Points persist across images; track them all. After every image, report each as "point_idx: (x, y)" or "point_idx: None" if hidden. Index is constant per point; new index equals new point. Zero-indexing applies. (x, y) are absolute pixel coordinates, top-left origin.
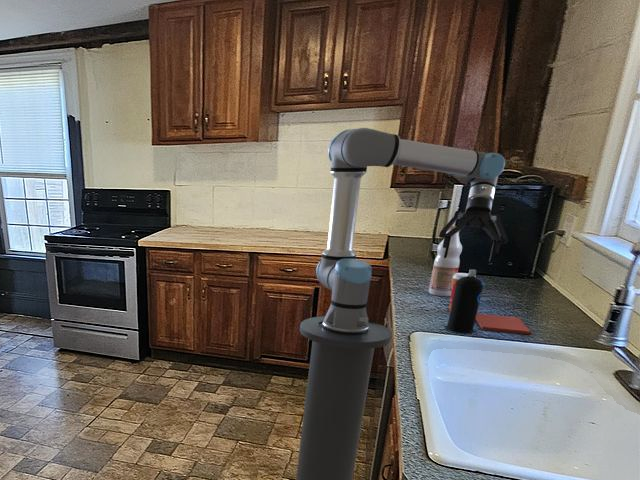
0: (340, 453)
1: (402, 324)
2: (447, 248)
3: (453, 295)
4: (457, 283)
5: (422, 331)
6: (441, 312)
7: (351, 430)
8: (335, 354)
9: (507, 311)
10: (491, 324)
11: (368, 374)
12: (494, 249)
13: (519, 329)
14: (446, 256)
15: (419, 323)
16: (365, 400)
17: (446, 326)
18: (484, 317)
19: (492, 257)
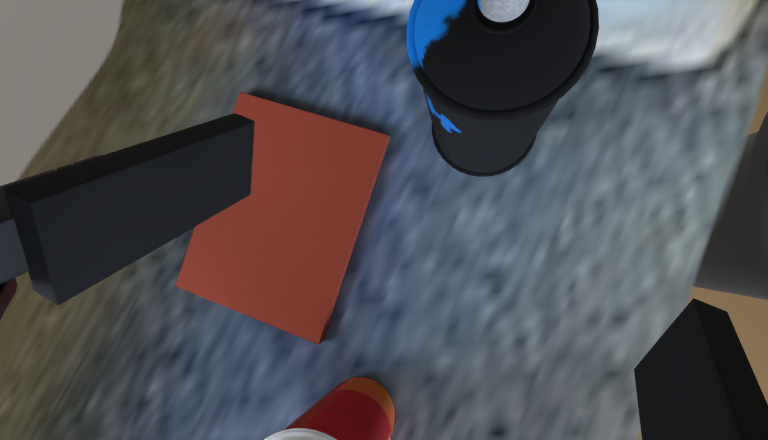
0: None
1: (727, 175)
2: (735, 372)
3: (383, 437)
4: (597, 15)
5: (668, 75)
6: (440, 397)
7: None
8: None
9: (148, 419)
10: (335, 171)
11: (741, 153)
12: (138, 150)
13: (266, 114)
14: (663, 335)
15: (631, 200)
16: None
17: (533, 142)
18: (309, 276)
19: (225, 121)
